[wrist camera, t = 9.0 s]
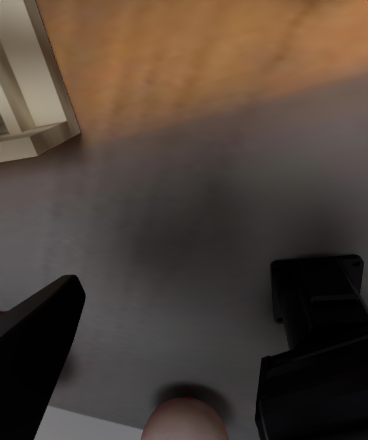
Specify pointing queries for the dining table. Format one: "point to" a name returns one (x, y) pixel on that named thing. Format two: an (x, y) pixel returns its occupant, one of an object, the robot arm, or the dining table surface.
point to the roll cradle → (30, 86)
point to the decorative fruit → (184, 421)
